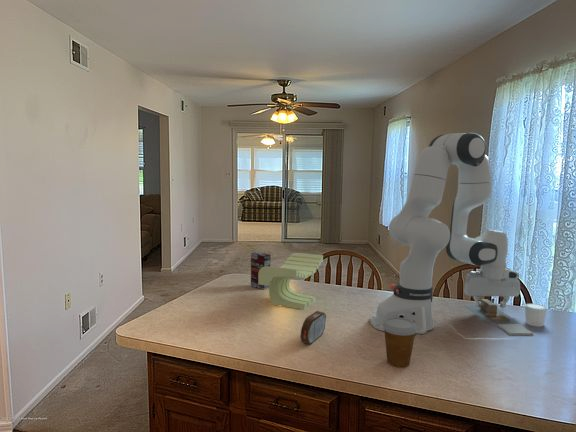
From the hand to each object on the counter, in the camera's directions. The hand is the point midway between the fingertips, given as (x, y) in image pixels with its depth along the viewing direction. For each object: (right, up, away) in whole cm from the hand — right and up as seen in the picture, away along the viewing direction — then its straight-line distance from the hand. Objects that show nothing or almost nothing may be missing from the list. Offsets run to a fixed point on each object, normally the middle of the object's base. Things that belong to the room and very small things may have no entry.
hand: (490, 307), depth 167 cm
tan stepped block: (0, -3, -1) cm, 3 cm away
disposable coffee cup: (-46, -8, -42) cm, 63 cm away
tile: (0, -5, -17) cm, 18 cm away
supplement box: (-91, +2, +35) cm, 97 cm away
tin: (-69, -5, -26) cm, 74 cm away
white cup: (+11, -5, -10) cm, 16 cm away
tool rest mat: (0, -3, 0) cm, 3 cm away
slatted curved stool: (-76, -1, +13) cm, 77 cm away
